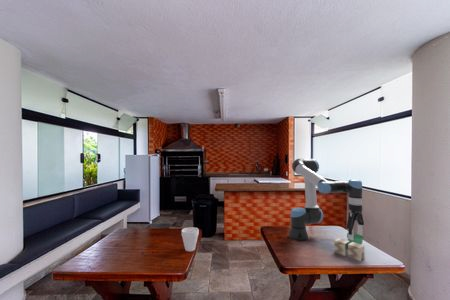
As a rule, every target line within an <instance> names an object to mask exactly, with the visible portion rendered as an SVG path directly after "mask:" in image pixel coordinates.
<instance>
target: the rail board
mask: <svg viewBox="0 0 450 300" xmlns="http://www.w3.org/2000/svg"><path fill="white" fill-rule="evenodd" d="M333 253H334V254H336V255H340V256H343V257H346V258H348V259H352V260H355V261H357V262H362V261H364V260H365V259H366V257H365V258H364V259H363V258H362V253H361V261H358V260H356V259H353V258H350V257H348V248H347V249H346V256H344V255H341V254H338V253H336V252H333Z"/></svg>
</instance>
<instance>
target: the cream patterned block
mask: <svg viewBox="0 0 450 300" xmlns="http://www.w3.org/2000/svg"><path fill="white" fill-rule="evenodd" d="M361 253H362V258H363V260H365V259H366V257H365V254H366V253H365V245H363V244H362V245H361V244H357V243H354V242H351V243H349V244H348V257H350V258H349V259H351V258H353V259H352V260H354V259H356V260H355V261H357V260H358V261H357V262H359V261H360V262H362V261H361ZM348 257H347V258H348ZM364 258H365V259H364Z"/></svg>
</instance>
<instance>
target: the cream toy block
mask: <svg viewBox="0 0 450 300" xmlns="http://www.w3.org/2000/svg"><path fill="white" fill-rule="evenodd" d="M333 243H334V244H333V245H334V246H333V247H334V248H333V251H334V252H336V253H335V254H337V253H338V254H337V255H339V254H341V255H340V256H342V255H344V256H343V257H345V256H346V249H347V248H348V244H349V243H350V242H349V241H348V239H347V240H346V239H343V238H339V237H338V238H336V239H334V240H333ZM334 252H333V253H334Z"/></svg>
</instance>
